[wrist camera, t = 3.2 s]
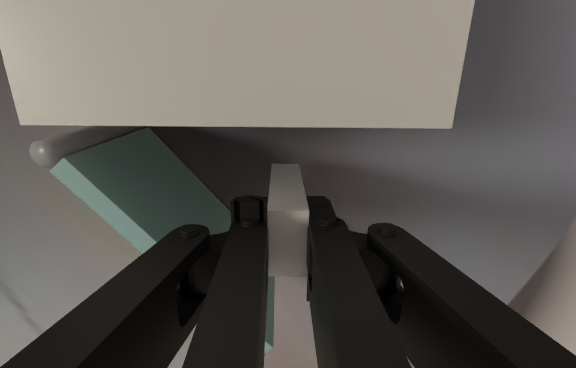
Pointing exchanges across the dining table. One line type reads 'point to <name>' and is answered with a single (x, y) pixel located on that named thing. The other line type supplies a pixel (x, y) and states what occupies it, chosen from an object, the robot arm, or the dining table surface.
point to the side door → (136, 187)
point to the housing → (235, 62)
